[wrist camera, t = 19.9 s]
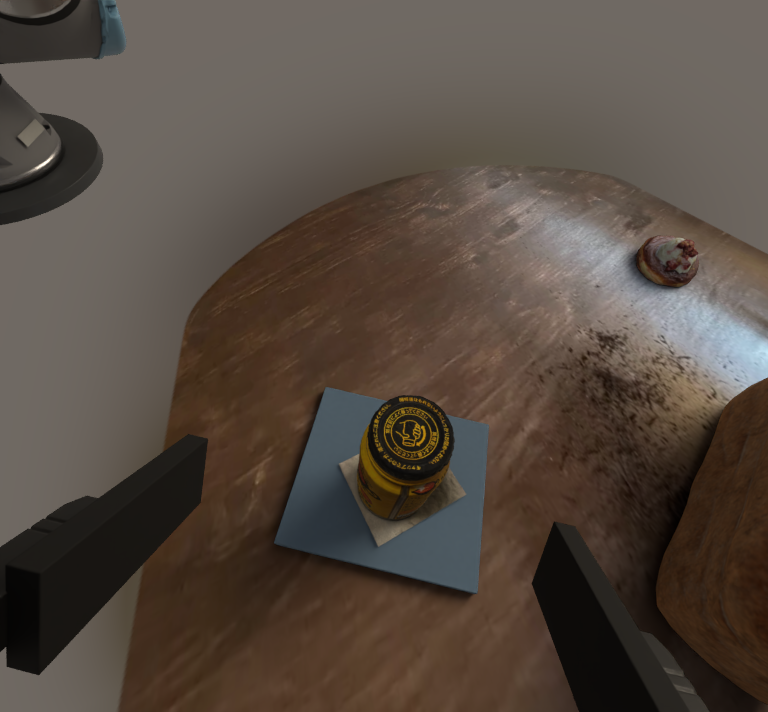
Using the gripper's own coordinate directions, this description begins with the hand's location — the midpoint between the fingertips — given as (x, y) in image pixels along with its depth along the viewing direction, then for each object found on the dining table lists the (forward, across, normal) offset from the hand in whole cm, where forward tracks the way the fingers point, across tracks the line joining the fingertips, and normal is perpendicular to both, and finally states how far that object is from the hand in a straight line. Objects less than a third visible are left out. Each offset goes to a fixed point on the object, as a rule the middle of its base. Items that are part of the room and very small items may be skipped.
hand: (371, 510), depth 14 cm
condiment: (+18, +2, -9) cm, 20 cm away
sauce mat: (+18, +2, -9) cm, 20 cm away
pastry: (+44, +32, +16) cm, 56 cm away
